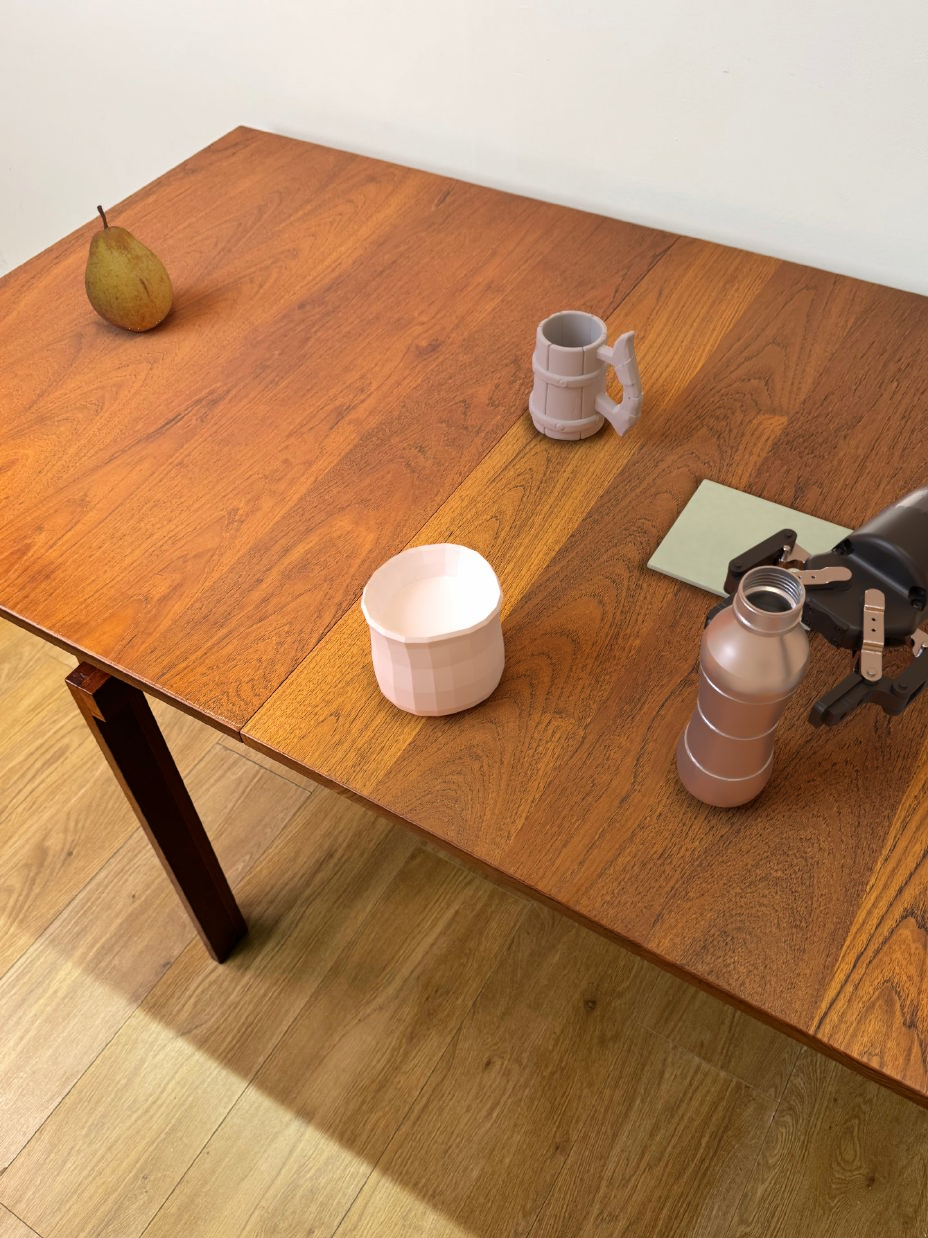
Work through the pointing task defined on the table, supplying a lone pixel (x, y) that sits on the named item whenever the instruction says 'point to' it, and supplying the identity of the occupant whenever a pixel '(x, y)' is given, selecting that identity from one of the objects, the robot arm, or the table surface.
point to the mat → (732, 535)
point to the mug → (582, 378)
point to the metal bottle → (744, 688)
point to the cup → (435, 629)
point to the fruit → (126, 280)
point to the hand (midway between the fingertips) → (758, 674)
